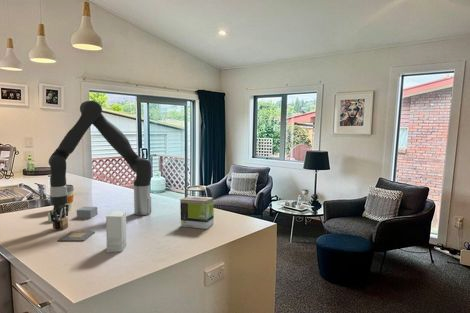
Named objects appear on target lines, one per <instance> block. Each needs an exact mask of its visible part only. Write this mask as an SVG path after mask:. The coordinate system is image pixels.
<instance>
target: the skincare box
mask: <svg viewBox="0 0 470 313" xmlns="http://www.w3.org/2000/svg"><path fill="white" fill-rule="evenodd" d="M105 219H106V220H105V227H106V228H105V230H106V231H105V232H106V234H105V235H106V236H105V237H106V253H123V251H124V249H125V248H126V246H127V211H126V210H111V211H110V212H109V213H108V214H107V215H106V216H105Z"/></svg>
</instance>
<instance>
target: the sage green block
mask: <svg viewBox="0 0 470 313" xmlns="http://www.w3.org/2000/svg"><path fill="white" fill-rule="evenodd" d="M57 216H59V215H57ZM57 218H58V217H57ZM47 219H48V220H47V222H48V223H53V222H52V221H51V216H50V211H49V212H47ZM53 219H54V218H53Z"/></svg>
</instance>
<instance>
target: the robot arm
mask: <svg viewBox="0 0 470 313" xmlns="http://www.w3.org/2000/svg"><path fill="white" fill-rule="evenodd" d="M102 107H103V106H102V105H101V103H99V102H98V101H96V100H86V101H83V102H81V104H80V106H79V112H80V114H81V115H80V116H79V119H78V120H77V121H76V123H75V124H74V125H73V126H72V128H70V129H69V131H68V132H67V133H66V134H65V136H64V137H63V138H62V140H61V141H60V142H59V145H58V147H57V148H56V149H55V150H54V152H53V153H52V154H51V155H50V156H49V159H48V165H49V168H50V178H49V183H50V184H49V185H50V189H49V194H50V196H49V197H50V205H51V206H53V209H52V210H50V211H49V212H50V216H51V221H52V222H51V223H53V222H55V229H60V218H61V217H68V216H69V211H68V209H69V205H65V204H67V203H68V197H67V186H66V185H67V177H66V175H67V173H66V172H67V159H68V157H69V156H70V155H71V154H72V153H73V152H74V151H75V149H76V148H77V146H78V145H79V143H80V142H81V140H82V138H83V137H84V135H85V134H86V132H87V131H88V130H89V128H90V127H91V126H92V125H93V126H94V127H95V128H96V129H97V130H98V132H99V133H100V135H101V136H102V137H103V138H104V139H105V140H106V141H107V143H108V144H109V145H110V146H111V147H112V149H114V150H115V152H117V154H119V155H120V156H121V157H122V158H123V159H124V161H125V162H126V163H127V165H128V167H129V168H130V169H131V171H132V172H134V173H135V174H136V176H135V179H134V180H133V204H134V205H133V208H134V215H135V216H146V215H150V214H151V213H152V196H151V181H152V164H151V162H150V160H149V159H147V158H142V157H140V156H139V154H137V153H136V152H135V150H133V148H132V146H131V142H130V141H129V139H128V138H127V136H126V135H125V134H124V133H123V132H122V131H121V130H120V128H118V127H117V126H115V124H113V123H111V122H110V121H109V120H108V119H107V118H106V116H104V114H103V113H102V112H103V108H102ZM57 215H59V216H57ZM57 217H58V218H57ZM53 218H54V219H53Z"/></svg>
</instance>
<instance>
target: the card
mask: <svg viewBox="0 0 470 313" xmlns="http://www.w3.org/2000/svg"><path fill="white" fill-rule="evenodd" d="M95 233H96V231H95V230H94V231H93V230H92V231H91V230H90V231H89V230H88V231H87V230H86V231H83V230H82V231H81V230H79V231H78V230H77V231H69V232H67V233H66V234H64V235H63V236H61V237H60V238H58V239H57V241H56V242H85V241H86V240H88V239H89V238H90V237H92V236H93V235H94V234H95Z"/></svg>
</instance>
